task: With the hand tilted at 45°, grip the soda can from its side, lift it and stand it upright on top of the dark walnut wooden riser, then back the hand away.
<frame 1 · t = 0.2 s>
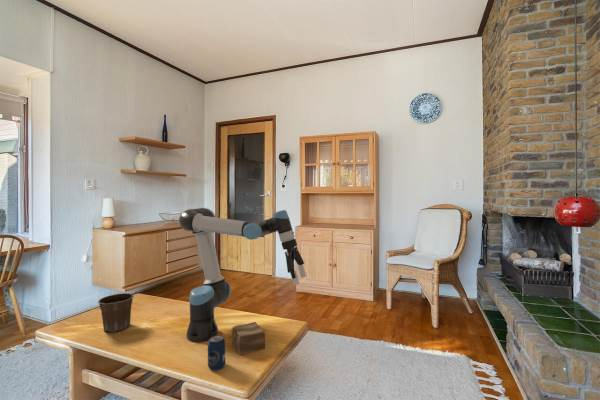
hand: (300, 280, 150), 28 cm above the table, tool tilted 20°, fingers open, 13 cm apart
plant pot: (117, 328, 161), on the table
soda can: (216, 367, 124), on the table
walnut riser: (248, 345, 140), on the table
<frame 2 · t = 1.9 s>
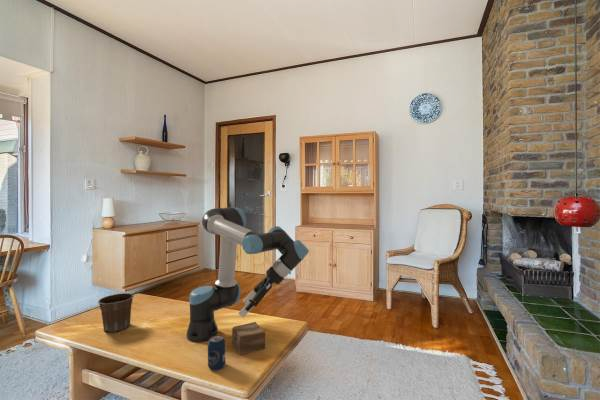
hand: (242, 308, 124), 24 cm above the table, tool tilted 45°, fingers open, 13 cm apart
nothing on the table moved.
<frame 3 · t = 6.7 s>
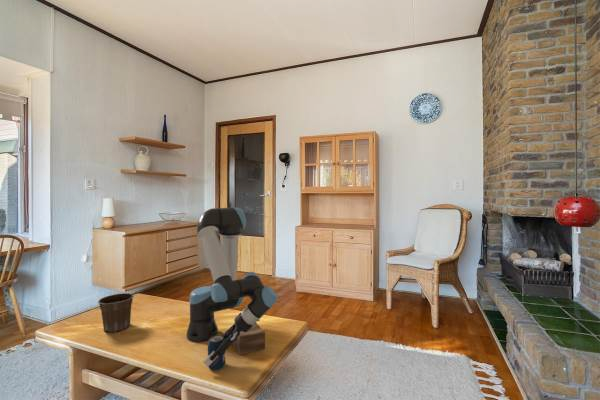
hand: (208, 358, 123), 4 cm above the table, tool tilted 45°, fingers closed on soda can, 7 cm apart
soda can: (216, 367, 124), on the table, touching gripper
everything else where it was.
when the fingers open (13 cm above the table, at t = 11.2 s): soda can drops 1 cm, resting on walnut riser.
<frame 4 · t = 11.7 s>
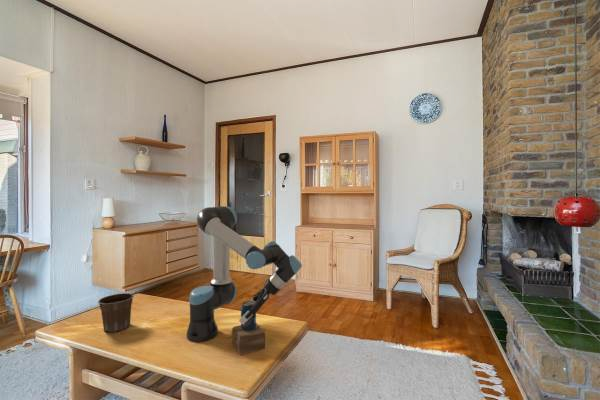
hand: (243, 316, 140), 14 cm above the table, tool tilted 45°, fingers open, 13 cm apart
soda can: (248, 329, 140), point 8 cm above the table, touching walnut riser
everything else where it was.
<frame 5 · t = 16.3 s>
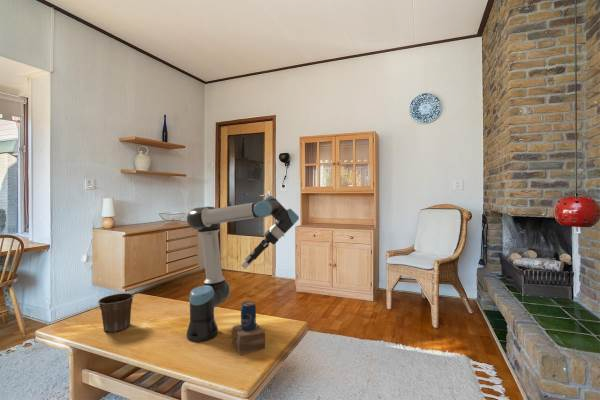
hand: (244, 264, 152), 36 cm above the table, tool tilted 45°, fingers open, 13 cm apart
nothing on the table moved.
at the end: soda can inside the target area on the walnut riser (0.2 cm from its centre), point 7.8 cm above the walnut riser's base; soda can tilted 0°; the gripper is holding nothing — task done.
